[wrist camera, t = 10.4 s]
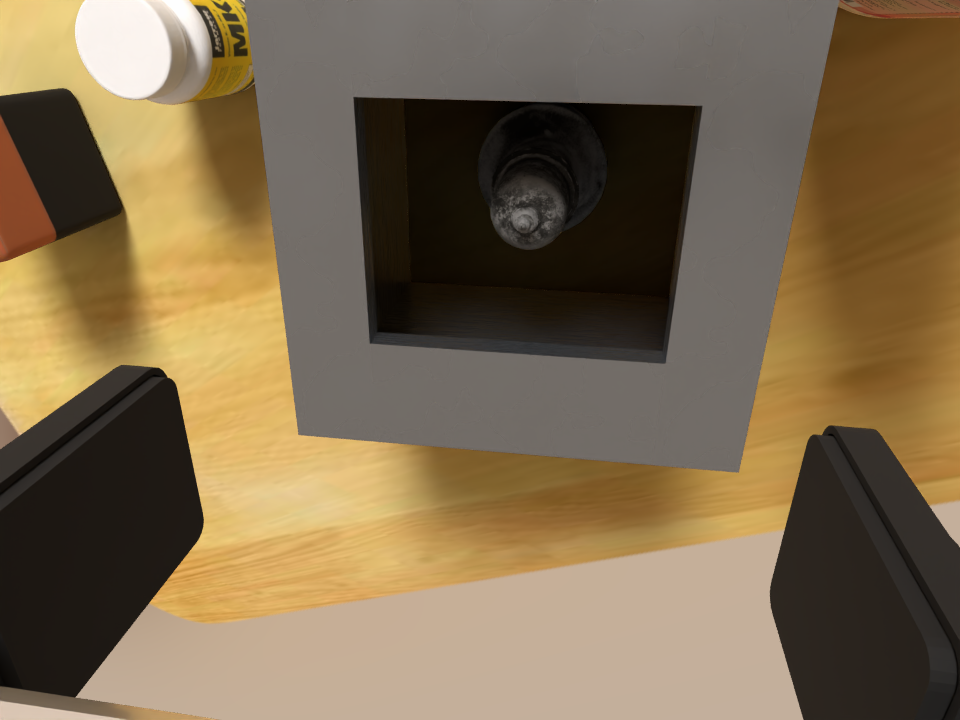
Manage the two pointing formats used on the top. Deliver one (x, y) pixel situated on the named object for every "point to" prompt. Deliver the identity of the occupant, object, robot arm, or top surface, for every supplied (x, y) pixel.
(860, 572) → the robot arm
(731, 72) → the grey hollow block
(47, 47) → the top surface
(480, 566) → the top surface
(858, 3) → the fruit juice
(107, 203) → the battery
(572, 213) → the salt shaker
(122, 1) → the supplement bottle
